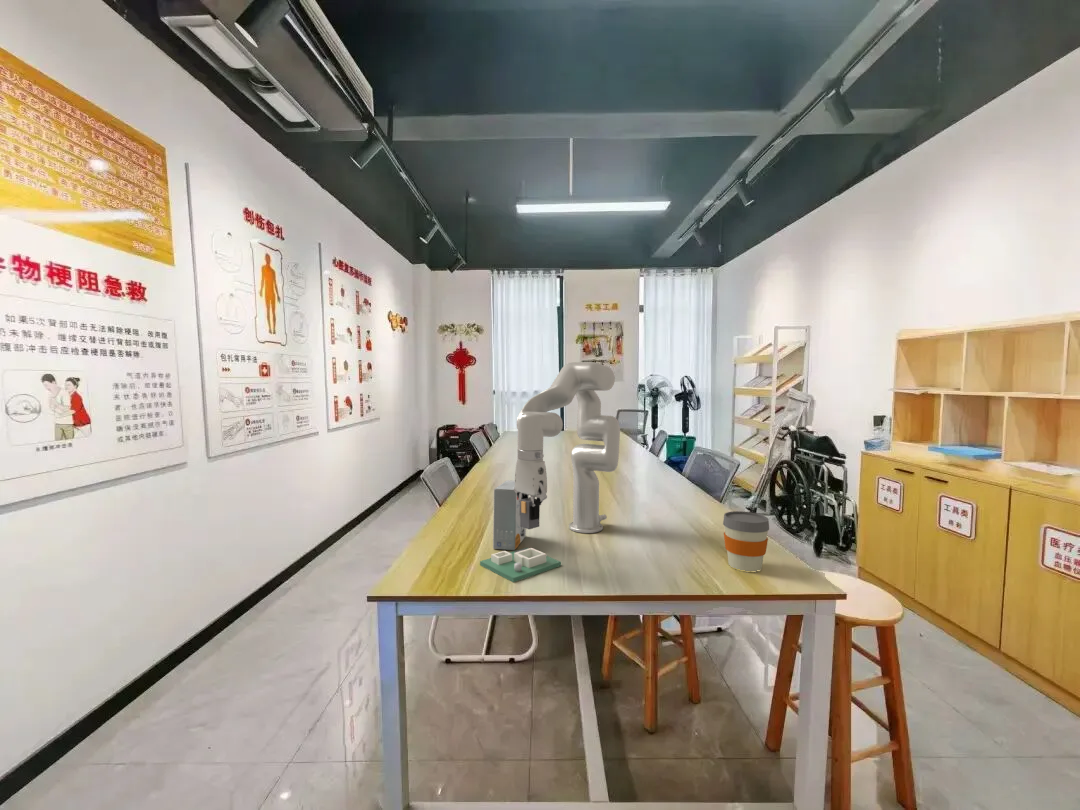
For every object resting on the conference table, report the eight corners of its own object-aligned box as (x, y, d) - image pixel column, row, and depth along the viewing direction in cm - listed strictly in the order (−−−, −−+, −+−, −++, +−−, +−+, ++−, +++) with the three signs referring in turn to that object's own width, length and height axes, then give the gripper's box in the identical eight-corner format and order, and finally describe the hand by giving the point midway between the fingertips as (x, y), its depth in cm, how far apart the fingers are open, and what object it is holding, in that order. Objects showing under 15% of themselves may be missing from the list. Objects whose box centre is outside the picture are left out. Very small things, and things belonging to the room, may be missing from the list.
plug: (530, 523, 142) (530, 497, 141) (539, 526, 139) (539, 499, 138) (519, 526, 139) (518, 500, 138) (527, 529, 136) (527, 502, 135)
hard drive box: (515, 551, 152) (515, 490, 151) (492, 549, 153) (492, 488, 152) (526, 536, 167) (526, 480, 166) (505, 534, 168) (505, 479, 167)
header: (531, 555, 144) (531, 547, 144) (546, 562, 139) (546, 553, 139) (512, 561, 140) (512, 553, 139) (527, 568, 134) (527, 560, 134)
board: (526, 551, 152) (526, 541, 152) (561, 565, 140) (561, 555, 140) (480, 565, 140) (480, 554, 140) (513, 582, 128) (513, 570, 128)
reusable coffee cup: (724, 572, 135) (725, 521, 135) (720, 557, 147) (721, 509, 147) (772, 577, 132) (773, 524, 131) (763, 561, 144) (764, 512, 143)
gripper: (559, 457, 134) (558, 521, 135) (522, 451, 147) (521, 509, 147) (539, 460, 129) (538, 526, 130) (502, 453, 142) (502, 513, 142)
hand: (529, 516), depth 139 cm, fingers closed on plug, 4 cm apart
